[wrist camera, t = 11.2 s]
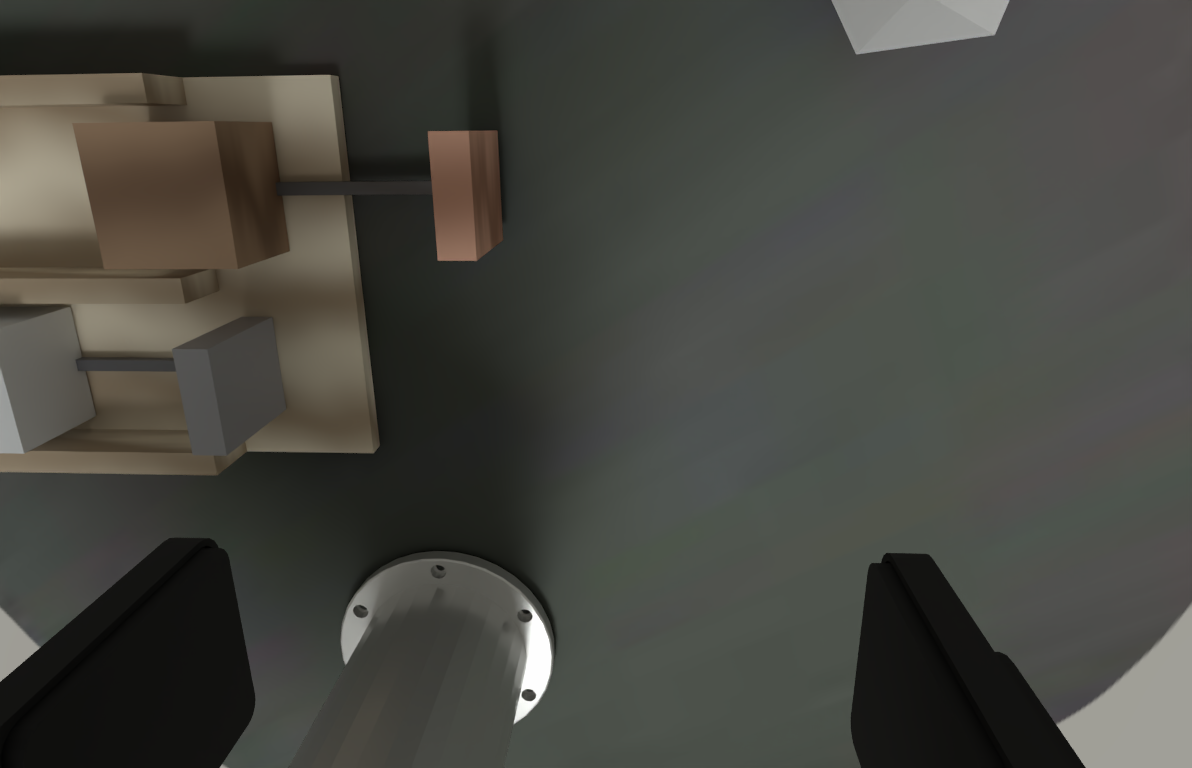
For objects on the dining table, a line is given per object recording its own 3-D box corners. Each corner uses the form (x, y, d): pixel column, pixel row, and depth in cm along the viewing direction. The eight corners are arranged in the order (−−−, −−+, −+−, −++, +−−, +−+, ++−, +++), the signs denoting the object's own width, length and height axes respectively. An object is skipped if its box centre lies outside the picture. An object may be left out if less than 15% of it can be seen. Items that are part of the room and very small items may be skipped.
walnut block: (503, 250, 37) (477, 273, 31) (172, 251, 38) (88, 273, 32) (496, 118, 35) (467, 116, 29) (148, 123, 36) (54, 122, 30)
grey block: (287, 418, 40) (228, 465, 34) (-10, 414, 41) (-115, 460, 36) (270, 307, 38) (205, 338, 33) (-41, 306, 39) (-157, 336, 34)
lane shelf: (379, 445, 42) (353, 477, 38) (-18, 440, 43) (-82, 470, 39) (338, 76, 36) (302, 69, 32) (-122, 84, 37) (-210, 79, 33)
